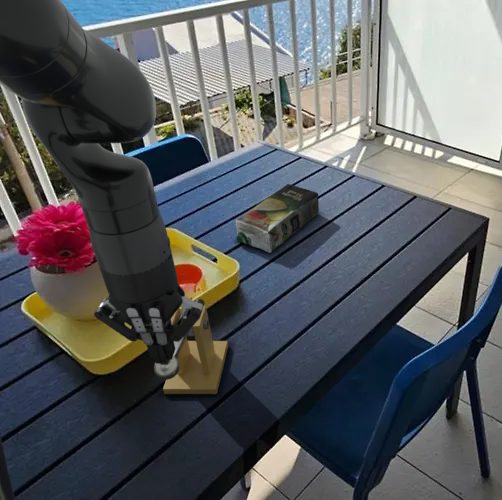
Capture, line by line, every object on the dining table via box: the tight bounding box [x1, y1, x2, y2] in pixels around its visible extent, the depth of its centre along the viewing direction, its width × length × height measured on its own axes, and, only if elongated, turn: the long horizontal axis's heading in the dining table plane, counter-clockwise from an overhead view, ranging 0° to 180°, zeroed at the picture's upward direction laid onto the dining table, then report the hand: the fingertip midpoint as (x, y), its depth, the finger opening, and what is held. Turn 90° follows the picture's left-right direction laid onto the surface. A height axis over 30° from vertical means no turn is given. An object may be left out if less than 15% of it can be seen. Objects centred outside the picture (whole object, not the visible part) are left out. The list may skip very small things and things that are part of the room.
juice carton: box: [235, 183, 320, 254], centre depth 112 cm, size 20×10×6 cm, turn 150°
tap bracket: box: [162, 305, 229, 395], centre depth 77 cm, size 10×8×12 cm
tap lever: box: [153, 314, 195, 381], centre depth 70 cm, size 13×3×3 cm, turn 1°
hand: (164, 358), depth 65 cm, fingers closed
